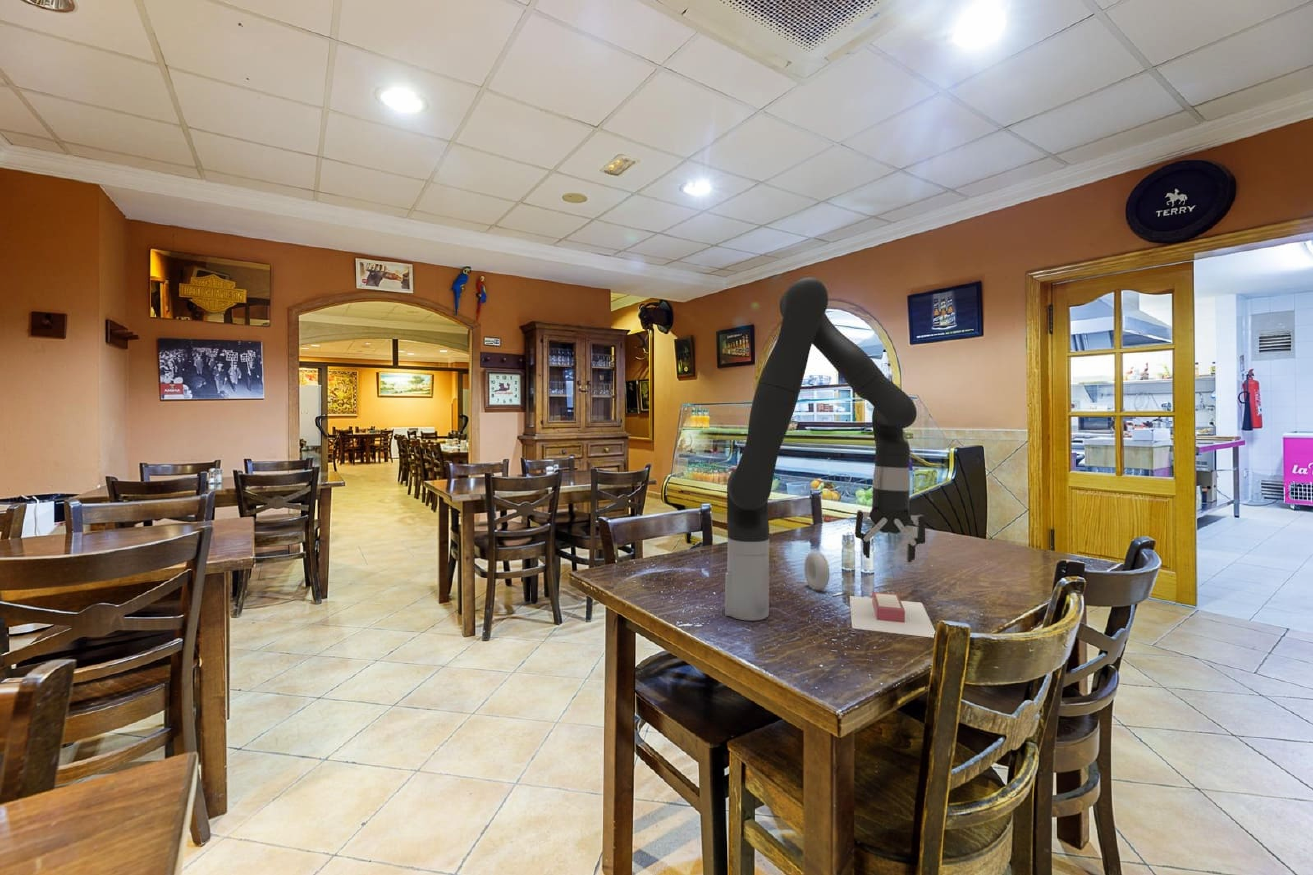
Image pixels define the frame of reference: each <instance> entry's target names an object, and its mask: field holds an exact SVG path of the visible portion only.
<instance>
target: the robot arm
mask: <svg viewBox="0 0 1313 875" xmlns="http://www.w3.org/2000/svg"><path fill="white" fill-rule="evenodd" d="M828 305H829V293H828V290H827V287H826V286H825V285H824V283H823V282H822V280H821V281H820V279H818V278H815V277H804V278H801V279H798V280H796V281H795V282H793V283H792V284H791V285H790V286H789V287H788V288H786V290H785V291H784V292H783V293H782V296H781V297H780V300H779V305H778V306H779V312H780V314H781V315H780V316H781V317H782V321H781V325H780V329H779V332H778V337H777V339H776V342H775V344H774V346H773V348H772V350H771V352H770V354H769V356H768V358H767V360H766V362H765V364H764V367H763V368H762V371H761V374H760V376H759V379H758V382H757V385H756V389H755V393H754V395H753V397H752V398H753V399H752V403H751V408H750V412H749V420H748V427H747V437H746V441H745V444H744V448H743V452H742V454H741V456H740V459H739V462H738V464H737V466H736V468H735V469H734V470H733V471H731V473H730V475H729V477H728V479H727V482H726V483H727V484H726V485H727V486H726V525H727V526H726V527H727V529H726V530H727V531H726V532H727V561H726V562H727V563H726V564H727V565H726V566H727V569H726V572H725V574H724V576H725V577H724V578H725V579H724V580H725V581H724V591H725V592H724V615H725V616H726V617H731V618H734V619H736V620H741V621H761V620H764V619H766V618H768V617H769V613H770V612H769V608H770V605H769V604H770V598H769V597H770V592H769V591H770V524H769V523H770V522H769V513H768V512H769V511H768V509H769V505H768V504H769V501H768V500H769V499H770V496H771V493H772V489H773V482H774V477H775V470H776V466H777V461H778V456H779V454H780V450H781V448H782V447H781V446H782V444H783V442H784V440H785V437H786V435H787V432H788V429H789V426H790V423H791V421H792V418H793V415H794V412H795V409H796V406H797V403H798V399H799V396H800V393H801V389H802V385H803V380H804V377H805V373H806V369H807V366H808V361H809V357H810V356H809V355H810V351H811V348H812V346H814V347H815V348H816V349H817V350H818V351H819V352H820V353H821V355H823V357H824V358H825V359H827V362H829V363H830V364H831V366H833V368H834V370H836V372H838V374H839V375H840V376H841V377H842V378H843V380H844V382H846V383H847V385H848V386H849V387H850V389H852V391H853V392H854V393H855V394H856V395H857V396H858V397H859V398H860V399H863V400H866V401H868V402H869V403H870V405H872V406H873V409H872V414H871V425H872V432H873V438H874V442H875V452H874V453H875V455H874V470H873V477H872V495H871V496H872V501H871V509H870V511H862V510H861V509H858V510H857V511H856V516H855V518H856V520H855V528H854V535H855V536H854V537H855V538H857V539H859V540H862V554H863V556H865V558H866V559H870V558H871V553H870V552H871V542H870V540H871V539H872V538H873V537H874V536H875V535H876V534H877V533H878V532H881V533H884V534H887V533H891V534H896V535H898V534H899V533H901V534H902V535H903V537H904V538H906V539H905V540H906V541H907V542H908V543H907V546H906V547H907V548H906V562H907V563H912V561H915V559H916V546H918V545H921V544H923V545H924V544H925V543H926V520H925V519H926V518H925V517H924V515H923V514H918V515H914V514H913V515H911V514H910V492H911V491H910V490H911V488H910V487H911V472H910V463H911V462H910V461H911V460H910V458H911V448H910V445H909V443H908V441H906V440H905V438H904V430H903V429H905V428H908V427H911V426H912V425H913V424H914V422H915V421H916V419H917V416H918V410H917V408H916V405H915V403H914V401H913V400H912V399H911V397H910V396H909V395H908V394H907V393H906V392H905V391H904V390H902V388H900V387H899V386H898V385H896V384H895V383H894V382H893V381H892V380H890V379H889V378H888V377H886V375H885V374H884V372H883V371H882V370H881V369H880V368H879V366H878V364H876V363H875V361H873V359H872V358H871V357H870V356H869V355H868V354H867V353H866V352H865V350H863V349H862V348H861V347H859V346H858V345H857V344H856V343H855V342H853V341H852V340H851V339H850V338H847V336H846V335H844V334H843V333H842V332H841V331H840V330H839V329H838V328H837V327H836V326H835V325H834V324H833V322H832V321H831V320H830V318H828V316H827V314H826V312H827V308H828ZM867 518H869V519H870V520H871V522H872V523H873V524H872V525H871V526H870V527H869V529H868V530H867V531H866V532H862V528H863V522H866V521H867ZM911 521H912V522H913V524H914V525H915V526H917V527H916V528H917V532H916V533H917V536H916V537H913V536H912V535H911V533H910V532H909V530H908V529H907V528H906V527H907V526H908V524H909V523H910V522H911Z"/></svg>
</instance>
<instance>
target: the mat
mask: <svg viewBox="0 0 1313 875" xmlns="http://www.w3.org/2000/svg"><path fill="white" fill-rule="evenodd" d="M900 601H901V603H902V605H903V608H904V610H905V623H903V622H893V621H883V620H877V619H876V615H875V611H874V607H873V603H872V597H868V596H867V597H864V596H855V595H849V602H850V617H851V629H854V630H864V631H871V632H873V631H874V632H880V633H891V634H900V635H907V636H918V637H924V638H925V637H926V638H932V639H935V638H934V634H935V632H936V630H935V628H934V626H933V623H932V621H931V619H930V617H929V615H928V613H927V611H926V608H925V606H924V605H923V603H922V602H919V601H918V602H917V601H906V600H900Z"/></svg>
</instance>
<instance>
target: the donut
mask: <svg viewBox="0 0 1313 875" xmlns="http://www.w3.org/2000/svg"><path fill="white" fill-rule="evenodd" d="M803 570H804V577H805V580H806V583H807V584H808V586H809V587H810V588H811V589H812V590H813V591H817V592H819V591H820V592H821V591H824V590H826V588H827V586H828V585H829V581H830V568H829V564H828V561H827V559H826V557H825V555H824V554H823V553H822V552H820V551H815V550H814V551H811V552H809V553H808V554H807V556H806V557H805V561H804V568H803Z"/></svg>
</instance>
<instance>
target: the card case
mask: <svg viewBox="0 0 1313 875" xmlns="http://www.w3.org/2000/svg"><path fill="white" fill-rule="evenodd" d="M871 598H872V603H873V607H874V611H875V615H876V619H877V620H883V621H893V622H903V623H905V610H904V608H903V605H902V603H901V601H902V600H901V598H900V596H899V594H898V593H889V592H879V591H872V596H871Z"/></svg>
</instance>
